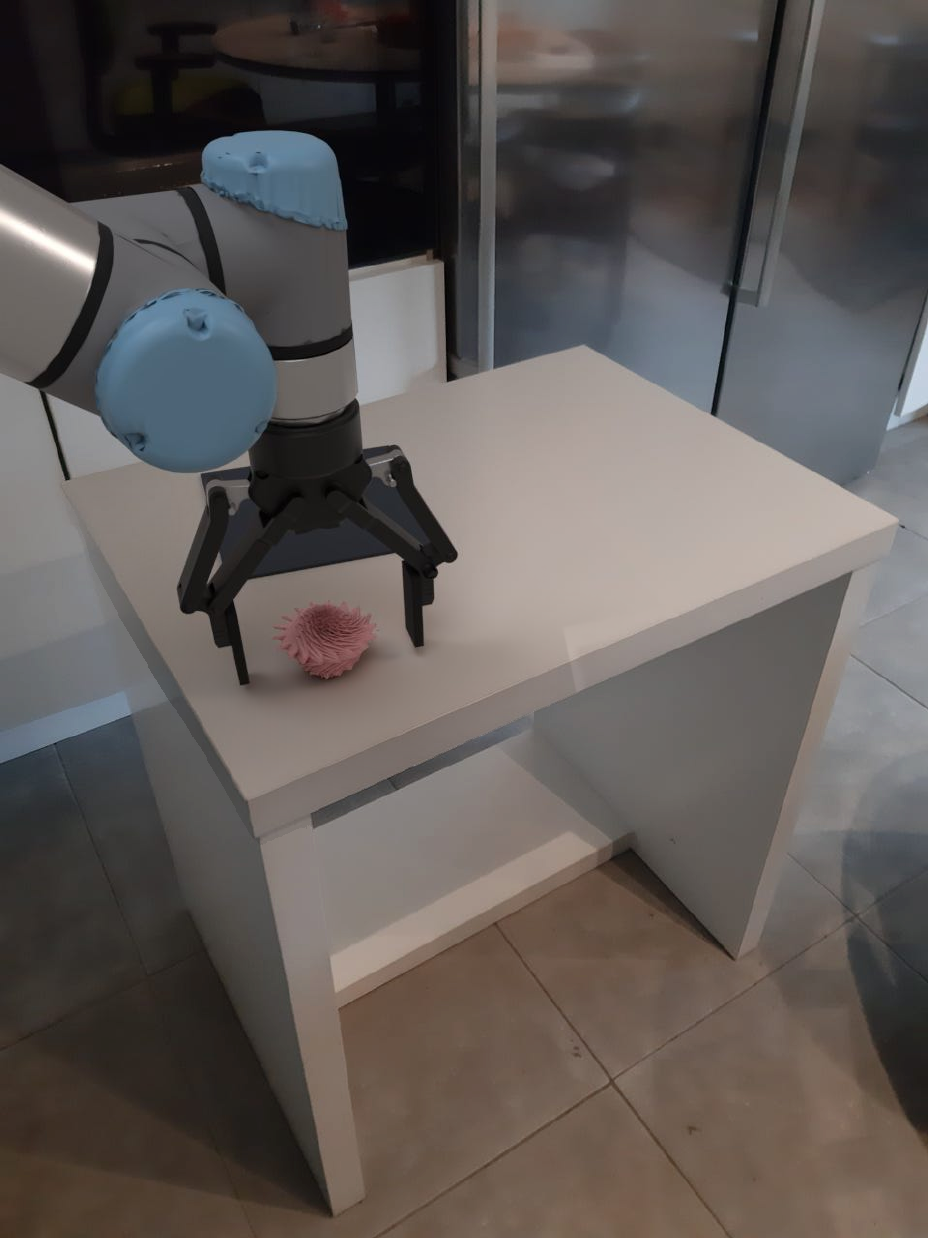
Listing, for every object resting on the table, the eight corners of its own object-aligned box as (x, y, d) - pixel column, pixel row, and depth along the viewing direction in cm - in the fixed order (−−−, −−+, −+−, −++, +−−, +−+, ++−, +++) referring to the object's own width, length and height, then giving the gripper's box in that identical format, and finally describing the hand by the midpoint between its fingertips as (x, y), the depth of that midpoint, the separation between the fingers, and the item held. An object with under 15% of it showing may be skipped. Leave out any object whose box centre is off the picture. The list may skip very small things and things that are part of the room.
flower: (272, 703, 73) (263, 645, 70) (282, 636, 80) (274, 580, 76) (378, 700, 74) (374, 642, 70) (380, 633, 80) (376, 578, 76)
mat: (226, 582, 86) (226, 580, 85) (200, 475, 101) (200, 473, 100) (445, 543, 91) (445, 540, 90) (389, 447, 106) (389, 444, 105)
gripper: (465, 353, 69) (467, 596, 82) (96, 405, 63) (161, 659, 76) (502, 396, 63) (498, 650, 76) (100, 458, 57) (170, 723, 70)
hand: (330, 655), depth 76 cm, fingers open, 13 cm apart
